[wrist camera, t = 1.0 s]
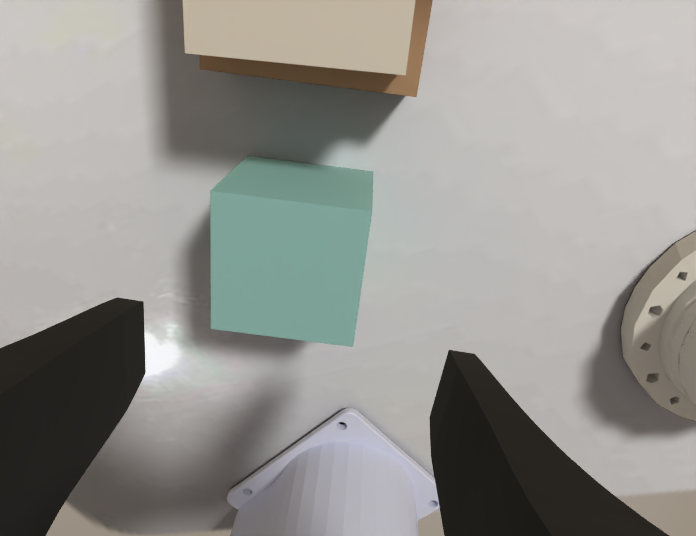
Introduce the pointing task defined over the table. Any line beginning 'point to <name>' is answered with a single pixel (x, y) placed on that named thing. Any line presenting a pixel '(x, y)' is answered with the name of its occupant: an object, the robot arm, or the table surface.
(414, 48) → the slab base
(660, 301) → the mechanical component
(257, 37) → the slab top
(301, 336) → the cube
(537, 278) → the table surface
